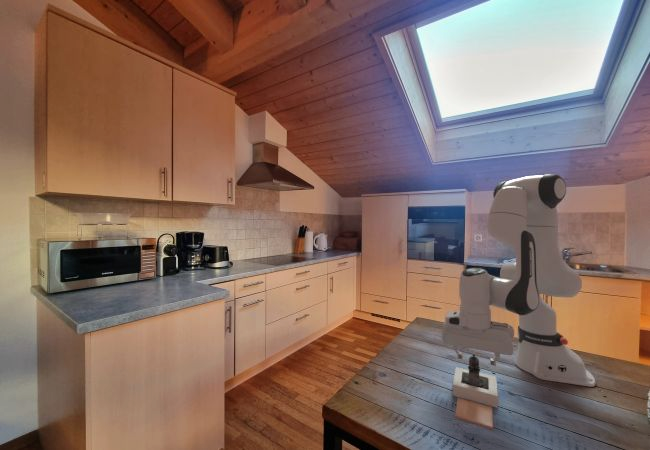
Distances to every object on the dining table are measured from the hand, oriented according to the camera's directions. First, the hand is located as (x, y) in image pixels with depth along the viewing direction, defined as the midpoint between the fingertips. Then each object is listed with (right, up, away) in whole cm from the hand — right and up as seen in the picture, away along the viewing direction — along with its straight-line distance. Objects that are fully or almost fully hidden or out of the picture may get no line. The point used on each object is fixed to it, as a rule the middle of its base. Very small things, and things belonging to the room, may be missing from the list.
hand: (476, 361), depth 88 cm
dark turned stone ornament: (-1, -10, 0) cm, 10 cm away
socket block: (-1, -9, 0) cm, 9 cm away
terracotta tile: (-7, -9, -11) cm, 16 cm away
